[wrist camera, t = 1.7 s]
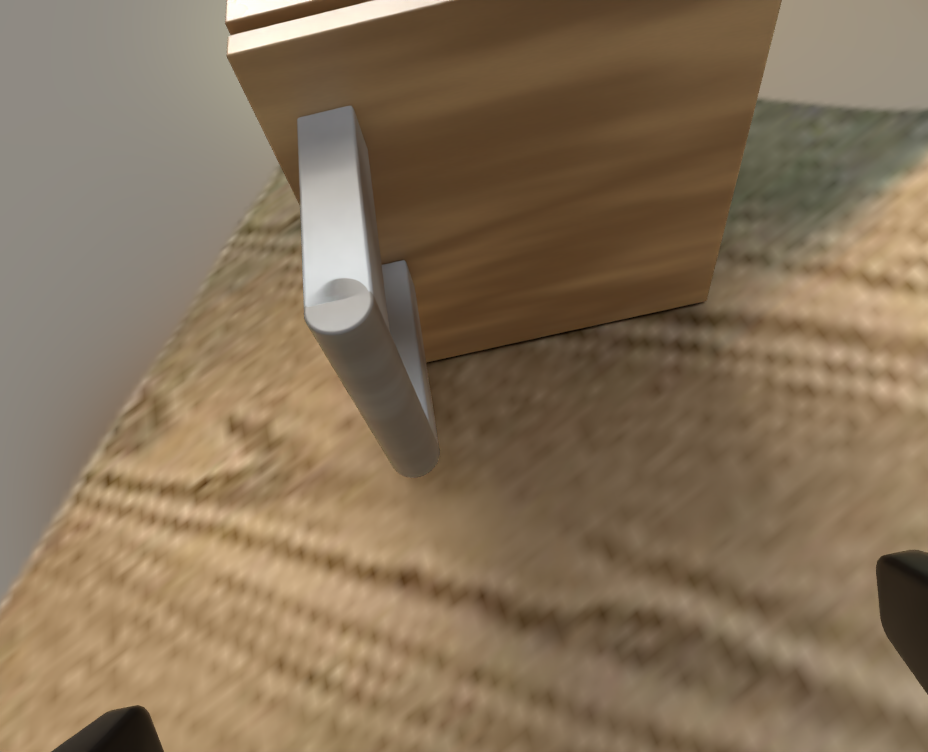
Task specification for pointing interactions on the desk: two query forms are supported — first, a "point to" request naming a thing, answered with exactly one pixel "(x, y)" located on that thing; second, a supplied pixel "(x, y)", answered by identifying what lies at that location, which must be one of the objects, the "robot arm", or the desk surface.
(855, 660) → the desk surface
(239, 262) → the desk surface
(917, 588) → the robot arm
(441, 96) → the cupboard door
